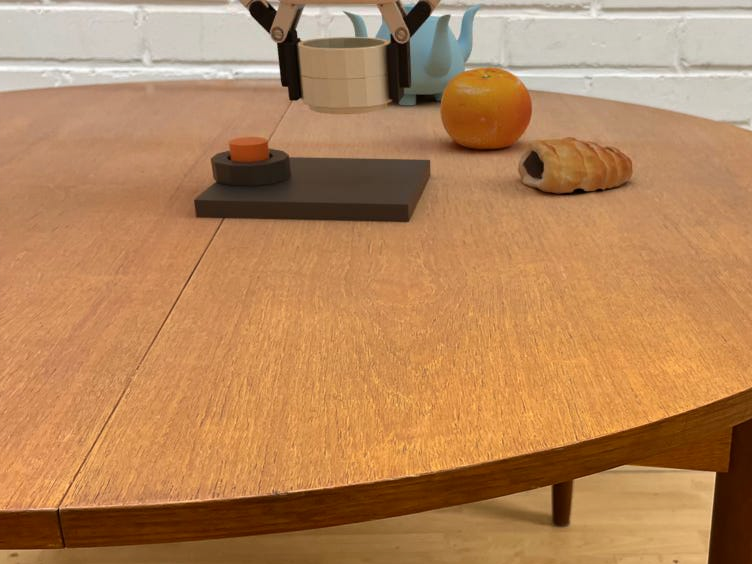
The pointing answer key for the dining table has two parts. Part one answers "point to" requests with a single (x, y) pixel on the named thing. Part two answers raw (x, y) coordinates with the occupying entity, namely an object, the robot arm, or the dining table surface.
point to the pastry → (573, 166)
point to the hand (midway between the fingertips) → (347, 96)
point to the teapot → (430, 52)
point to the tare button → (249, 149)
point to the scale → (314, 188)
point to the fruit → (486, 108)
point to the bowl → (344, 74)
